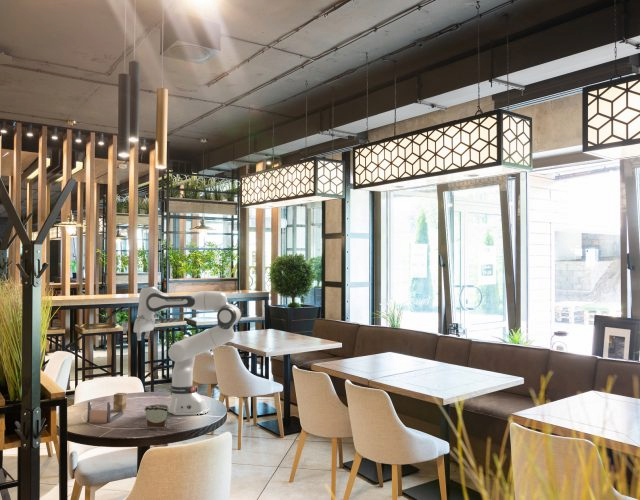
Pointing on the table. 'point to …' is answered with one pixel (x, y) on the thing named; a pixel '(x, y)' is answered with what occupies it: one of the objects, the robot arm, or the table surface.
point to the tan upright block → (119, 402)
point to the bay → (101, 414)
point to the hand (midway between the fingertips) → (142, 339)
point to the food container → (156, 415)
